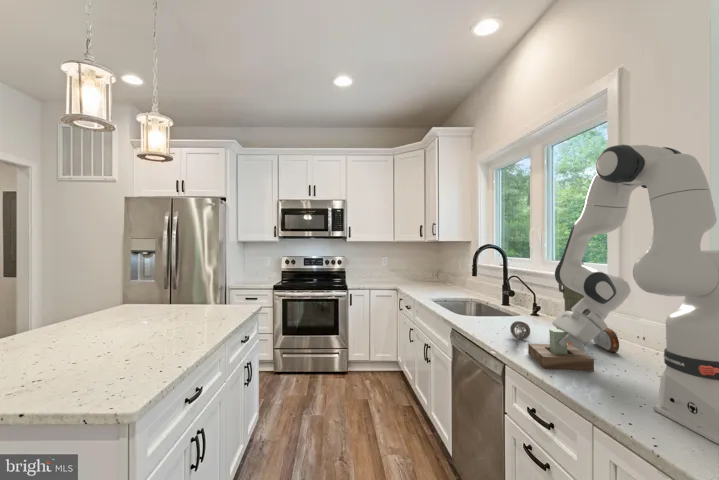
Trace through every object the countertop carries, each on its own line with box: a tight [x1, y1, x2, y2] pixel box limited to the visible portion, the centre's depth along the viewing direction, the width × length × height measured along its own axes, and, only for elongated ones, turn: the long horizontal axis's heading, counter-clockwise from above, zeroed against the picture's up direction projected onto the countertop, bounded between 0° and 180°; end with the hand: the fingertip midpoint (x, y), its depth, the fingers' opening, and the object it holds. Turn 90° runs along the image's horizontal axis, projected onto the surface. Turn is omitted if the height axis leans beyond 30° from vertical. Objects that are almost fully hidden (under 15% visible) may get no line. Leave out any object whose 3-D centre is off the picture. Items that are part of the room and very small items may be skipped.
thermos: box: [558, 260, 585, 312], centre depth 142 cm, size 9×12×35 cm
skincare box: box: [567, 339, 586, 354], centre depth 126 cm, size 6×4×12 cm
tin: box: [592, 327, 620, 353], centre depth 127 cm, size 15×3×8 cm, turn 168°
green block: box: [549, 328, 568, 354], centre depth 113 cm, size 4×4×9 cm
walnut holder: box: [527, 343, 595, 372], centre depth 113 cm, size 15×15×4 cm
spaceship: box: [510, 320, 531, 340], centre depth 141 cm, size 8×35×8 cm
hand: (556, 342), depth 113 cm, fingers closed on green block, 4 cm apart
